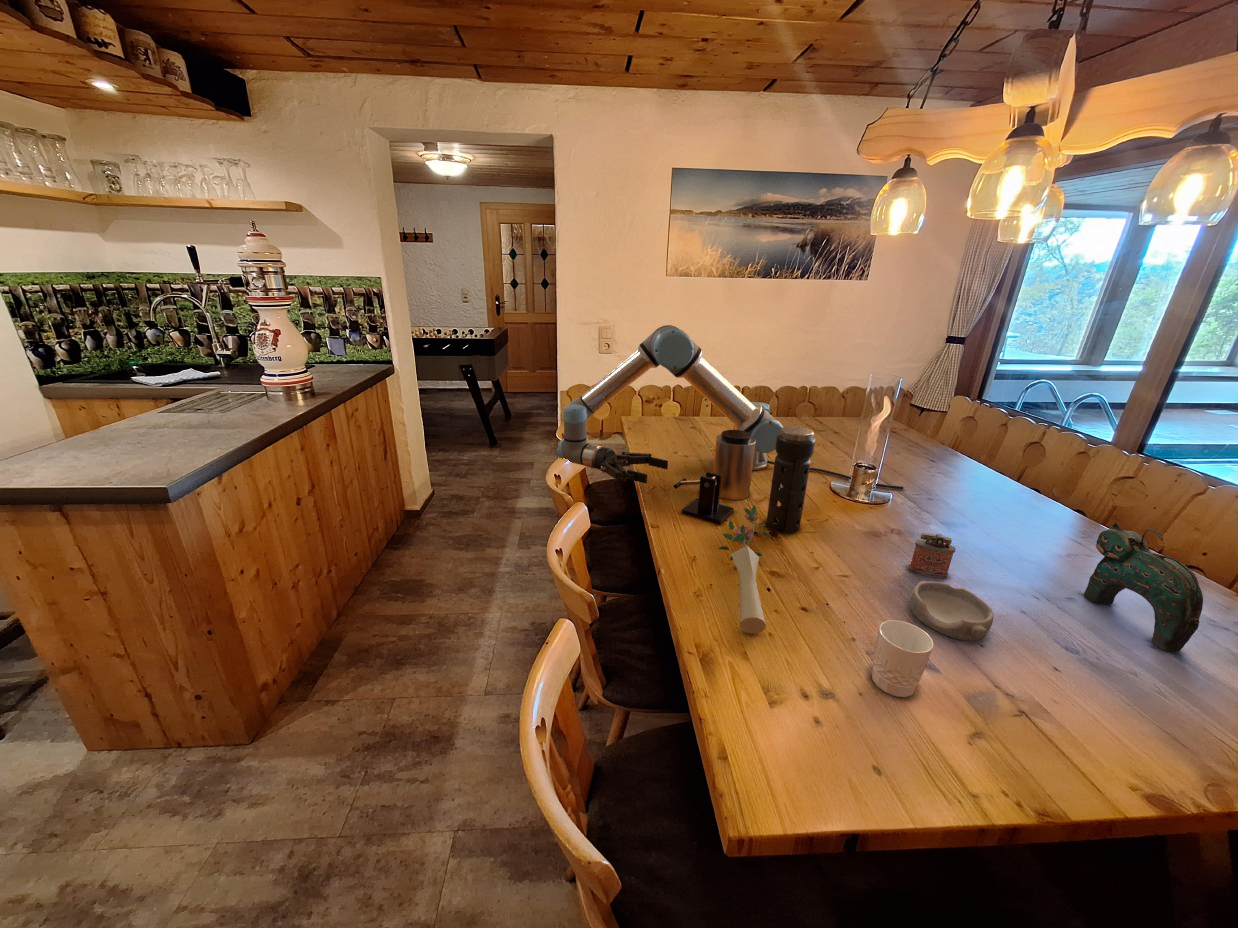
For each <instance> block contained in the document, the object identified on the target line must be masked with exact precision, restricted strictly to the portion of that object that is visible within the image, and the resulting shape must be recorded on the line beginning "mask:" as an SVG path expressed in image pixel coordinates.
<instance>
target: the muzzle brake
mask: <svg viewBox="0 0 1238 928" xmlns="http://www.w3.org/2000/svg"><path fill="white" fill-rule="evenodd" d="M814 434H815V433H814V431H813V429H811V428H808V427H805V426H800V425H785V426H783V427H782V428H781V433H779V434H778V436H777V441H776V448H775V449H776V450H775V452H776V454H777V455H775V458H774V462H775V463H774V465H773V472H772V479H771V485H770V492H769V493H770V494H769V500H768V506H767V513H766V522H765V526H766V527H768V528H769V529H770V530H772V531H773V532H777V533H780V534H794V533H797V532H798V531H800V528H801V523H802V515H803V510H804V505H805V498H806V493H807V492H806V491H807V486H808V480H809V475H810V470H809V469H810V468H811V459H810V458H812V456H813V455H814V453H815V447H816V439H815V436H814ZM778 504H780V505H778ZM776 520H777V522H776Z"/></svg>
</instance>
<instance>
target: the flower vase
mask: <svg viewBox="0 0 1238 928" xmlns="http://www.w3.org/2000/svg"><path fill="white" fill-rule="evenodd" d="M743 510H744V512H745V515H744V517H745V520H746V521H747V522H749V523H752V529H751V528H749V526H745V525H744V524H742V525H741V526H738V528H737V529H735V528H736V527H735V525H734V522H733V521H732V520H731V519H729V520H728V528H729V530H730V531H733V534H731V533H722V536H723V537H724V538H725V539H727V540H729V541H731V540H732V541H731V543H738V544H739V545H740V546H741V545H742V546H743V547H742V548H740V549H737V550H736V551H734V552H733V551H732V550H731V549H730V548H729V547H728V546H727V545H723V546H720V547H718V550H724V551H731V553H730V557H729V560H730V561H733V563H734V565H735V568H736V570H737V575H738V580H739V581H738V582H739V607H740V608H739V610H740V611H739V612H740V613H739V617H740V618H739V628H740V629H741V630H742V632H744V633H747V634H753V635H756V634H759V633H763V631H764V630H765V629H766V626H767V623H766V619H765V616H764V611H763V608H762V607H763V606H762V604H761V599H760V595H759V594H760V593H759V590H758V584H757V573H758V568H759V561H760V557H762V556H764V554H763V553H761V552H760V551H754V550H753V549H752V548H751V547H750V546H749V545H750V542H751V543H754V541H755V536H753V535H755V532H758V533H761V535H763V536H764V537H767V538H772V537H771V534H770V533H769V532H768V531H766V530H763V531H761V528H762V527H764V526H766V524H762V525H760V527H759V530H755V522H757V521H758V518H759V517H758V512H757V507H756V504H754V505H753V506H752V507H751V509H749V508H746V507H743ZM734 529H735V531H734Z"/></svg>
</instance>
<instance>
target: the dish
mask: <svg viewBox="0 0 1238 928" xmlns="http://www.w3.org/2000/svg"><path fill="white" fill-rule="evenodd" d="M909 602H910V603H909V605H910V610H911V612H912V614H913V615H914V616H915V617H916V618H917V620H919V621H920V622H921V623H922V624H924V625H925V626H927V627H929V628H931V629H933V630H934V631H937V632H938V633H940V634H943V635H946V636H948V637H951V638H953V639H957V640H962V641H978V640H981V639H982V638H985V636H986V635H987V634H988V633H989V631H990V630H991V628H992V626H993V623H994V618H995V617H994V616H995V615H994V611H993V608H992V607H991V606H990V605H989V604H988V603H987V602H986V601H984V600H983V599H982V598H980V597H979V596H977V595H976V594H975V593H973V592H971V591H970V590H968V589H966V588H963V587H961V588H960V587H955V586H952V585H950V584H949V583H946V582H940V581H925V580H920V581H918V582H917V583H916V584H915V586H914V588H913V589H912V592H911V595H910V601H909Z"/></svg>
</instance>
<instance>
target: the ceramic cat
mask: <svg viewBox="0 0 1238 928" xmlns="http://www.w3.org/2000/svg"><path fill="white" fill-rule="evenodd" d="M1150 531H1152V532H1154V533H1155V534H1156V535H1157V537H1158V538H1159V539H1160V541H1161V542H1162V541H1163V540H1164V537H1163V535H1162V533H1160V531H1158V530H1157V529H1155V528H1147V529H1146V530H1145V531H1144V532H1143V535H1141V534H1140V533H1138V532H1136V531H1132V530H1124V529H1123V528H1121V526H1120V525H1119V524H1118V523H1116V522H1115V523H1113V524H1112V525H1111V526H1110V527H1109V528H1108V529H1105V530H1102V531H1101V532H1100V533H1099V535H1098V537H1097V540H1096V542H1095V543H1096V544H1095V548H1096V550H1097V552H1099V553H1100V555H1102V556H1104V557H1103V558H1102V559H1101V560H1099V562H1098V563H1097V565H1096V567H1095V568H1094V571H1093V573H1092V574H1091V575H1090V576H1089V580H1088V583H1087V586H1086V588H1085V590H1084V593H1083V596H1084V597H1086V598H1087V599H1089V600H1090V601H1091V602H1093V603H1095V604H1100V605H1113V604H1114V601H1115V599H1116V597H1117V595H1118V594H1119V593H1121V592H1123V590H1125V589H1126V590H1129V591H1132V592H1134V593H1135V594H1137V595H1139V596H1141V597H1142V598H1143V599H1145V601H1147V602H1148V603H1149V605H1150V606H1151V607H1152V609H1153V612H1154V614H1153V615H1154V625H1153V633H1152V638H1151V643H1152V644H1153V645H1154V646H1155V647H1157V648H1159V649H1161V650H1162V651H1164V652H1180V651H1181V650H1182V649H1183V648H1184V647H1185V645H1186V644H1187V643H1188V642H1189V641H1190V639H1191V638H1192V636H1193V635H1194V634H1195V633H1196V631H1197V630H1198V628H1199V626H1200V619H1201V614H1202V611H1203V606H1204V595H1203V592H1202V589H1201V587H1200V584H1199V581H1198V577H1197V576H1196V574H1195V573H1194V572H1193V571H1192V570H1191V569H1190V568H1189V567H1188V566H1187V565H1186V564H1184V563H1183V562H1181V561H1180V560H1178V559H1176V558H1174V557H1171V556H1168V555H1163V554H1160V553H1157V552H1153V551H1151V549H1150V547H1149V544H1148V543H1147V541H1146V539H1145V536H1146V534H1147V532H1150Z"/></svg>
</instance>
